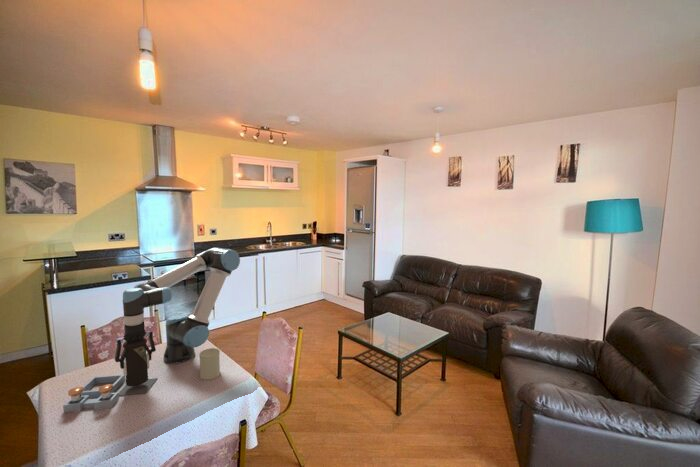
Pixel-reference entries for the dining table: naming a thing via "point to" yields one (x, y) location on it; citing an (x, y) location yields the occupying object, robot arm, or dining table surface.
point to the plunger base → (90, 403)
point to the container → (136, 362)
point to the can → (209, 364)
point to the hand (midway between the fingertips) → (136, 370)
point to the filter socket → (102, 379)
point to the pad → (137, 388)
